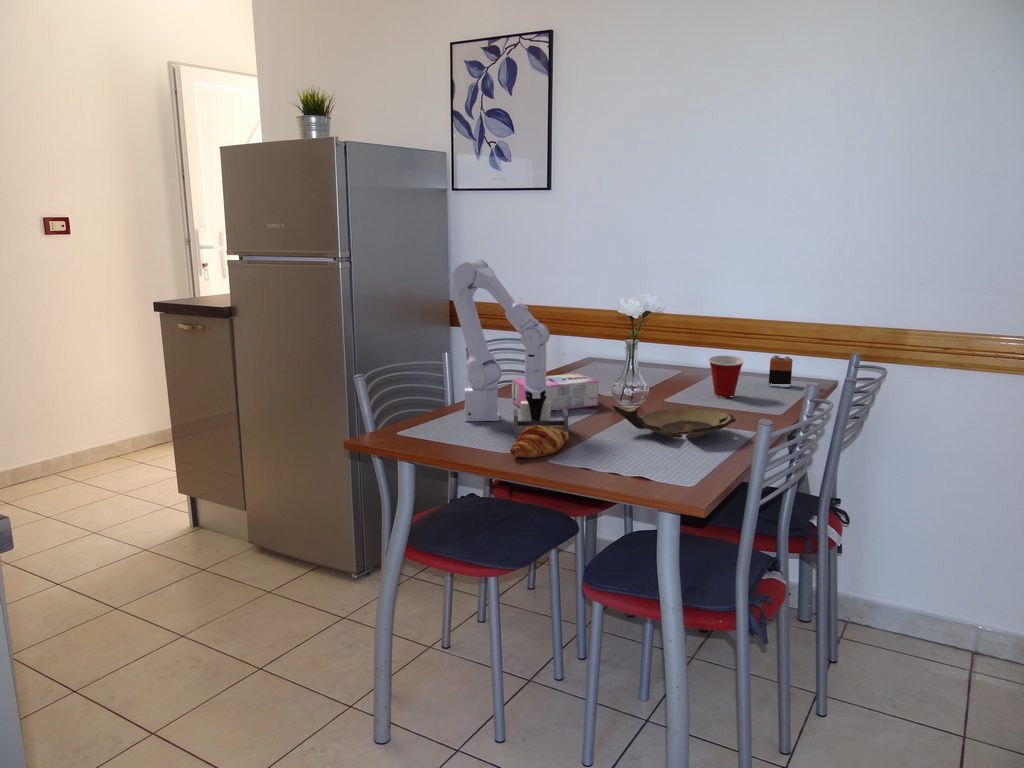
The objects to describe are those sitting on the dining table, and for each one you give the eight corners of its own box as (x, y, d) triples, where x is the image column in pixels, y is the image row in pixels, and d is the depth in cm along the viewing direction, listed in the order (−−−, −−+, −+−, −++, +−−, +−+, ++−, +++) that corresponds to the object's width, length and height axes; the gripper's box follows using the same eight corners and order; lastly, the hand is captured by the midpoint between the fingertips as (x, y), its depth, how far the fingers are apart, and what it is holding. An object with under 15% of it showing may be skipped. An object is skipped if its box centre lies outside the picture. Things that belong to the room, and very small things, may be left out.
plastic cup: (707, 399, 241) (709, 361, 238) (705, 391, 251) (707, 355, 248) (744, 400, 239) (746, 362, 236) (740, 393, 249) (742, 355, 246)
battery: (769, 384, 262) (771, 354, 260) (790, 385, 259) (792, 355, 257) (768, 386, 258) (770, 356, 256) (790, 388, 255) (792, 358, 253)
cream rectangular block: (521, 425, 213) (520, 403, 212) (520, 422, 216) (520, 401, 215) (550, 424, 213) (550, 403, 212) (549, 421, 216) (549, 400, 215)
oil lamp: (722, 452, 188) (724, 421, 187) (605, 437, 202) (605, 408, 200) (742, 429, 208) (743, 401, 206) (633, 417, 221) (634, 390, 220)
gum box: (602, 406, 234) (583, 396, 246) (603, 380, 232) (583, 371, 244) (527, 413, 226) (511, 403, 238) (527, 387, 224) (511, 377, 237)
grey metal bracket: (514, 437, 202) (513, 416, 201) (513, 429, 209) (513, 409, 208) (568, 436, 202) (568, 415, 201) (566, 429, 209) (566, 408, 208)
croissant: (557, 452, 201) (546, 423, 202) (586, 440, 194) (574, 410, 195) (504, 471, 185) (492, 439, 186) (534, 459, 178) (521, 426, 179)
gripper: (551, 374, 204) (551, 425, 207) (549, 364, 218) (548, 411, 221) (524, 375, 204) (524, 425, 207) (523, 364, 218) (523, 411, 221)
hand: (535, 418), depth 214 cm, fingers closed on cream rectangular block, 3 cm apart
